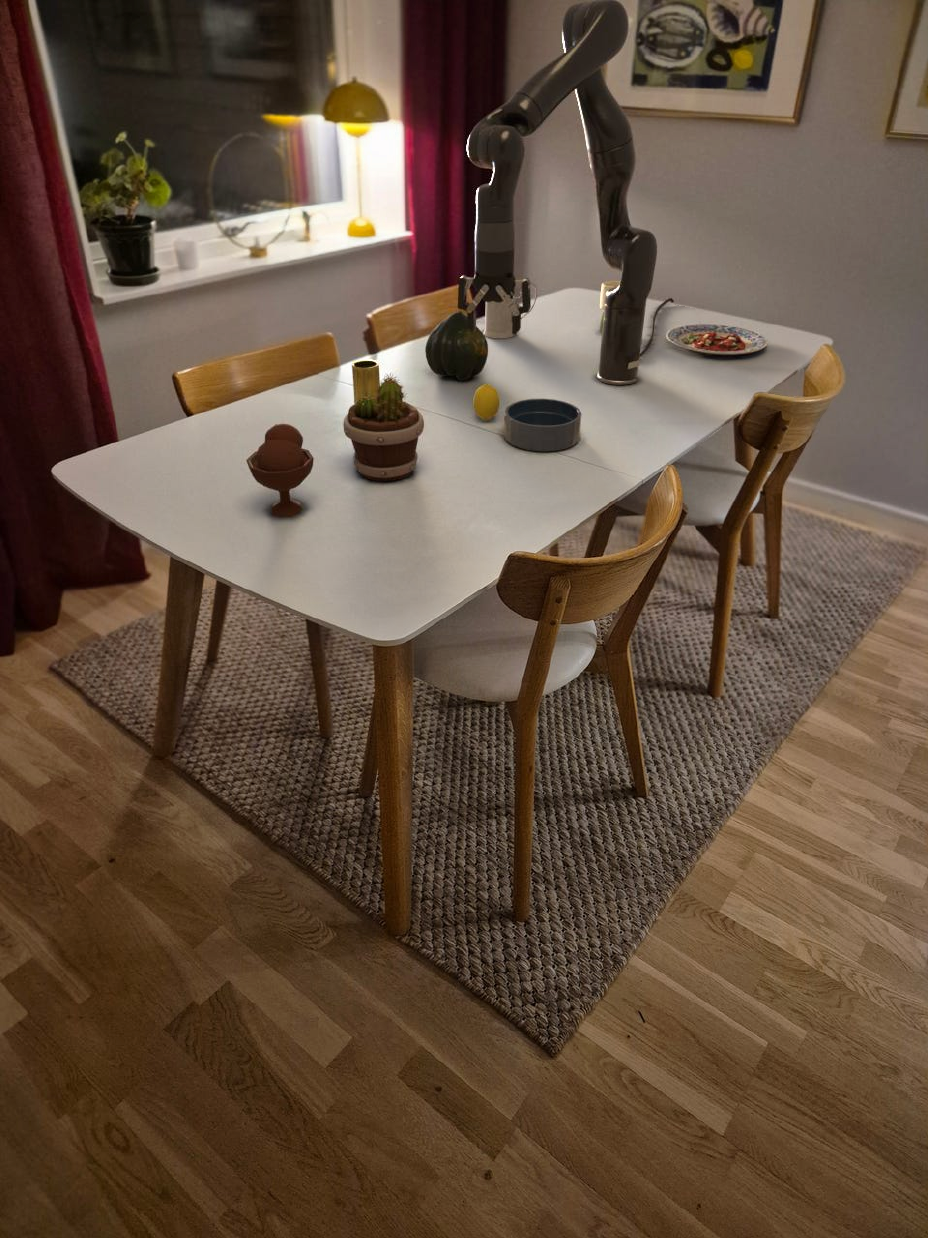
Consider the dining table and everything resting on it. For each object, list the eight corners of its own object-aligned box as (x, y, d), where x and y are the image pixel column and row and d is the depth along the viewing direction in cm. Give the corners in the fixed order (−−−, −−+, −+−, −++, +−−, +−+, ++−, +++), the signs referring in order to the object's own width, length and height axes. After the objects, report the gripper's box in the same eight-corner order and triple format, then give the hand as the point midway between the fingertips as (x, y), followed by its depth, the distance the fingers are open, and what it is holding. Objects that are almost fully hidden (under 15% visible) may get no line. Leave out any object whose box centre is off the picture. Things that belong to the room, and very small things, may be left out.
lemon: (496, 426, 176) (497, 389, 172) (470, 424, 177) (471, 387, 173) (500, 416, 181) (502, 380, 176) (475, 414, 182) (476, 378, 177)
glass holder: (485, 328, 235) (486, 271, 226) (536, 330, 233) (539, 273, 225) (481, 337, 228) (482, 279, 219) (533, 339, 226) (536, 281, 218)
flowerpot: (336, 462, 161) (326, 358, 150) (411, 450, 166) (407, 348, 155) (358, 494, 150) (350, 384, 139) (438, 479, 155) (436, 372, 144)
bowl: (511, 420, 179) (512, 395, 176) (583, 427, 176) (585, 401, 173) (497, 449, 167) (498, 422, 164) (573, 456, 164) (576, 429, 161)
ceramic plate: (777, 341, 225) (780, 330, 223) (748, 368, 207) (751, 355, 205) (685, 326, 236) (687, 315, 235) (650, 350, 219) (652, 339, 217)
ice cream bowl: (257, 496, 149) (245, 415, 141) (320, 494, 150) (312, 414, 142) (250, 525, 141) (236, 441, 132) (317, 522, 141) (308, 439, 133)
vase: (389, 428, 175) (385, 360, 167) (377, 439, 170) (372, 370, 162) (362, 425, 177) (357, 357, 169) (349, 435, 172) (344, 366, 164)
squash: (445, 368, 190) (477, 309, 189) (404, 355, 199) (435, 299, 199) (480, 398, 201) (511, 342, 200) (440, 384, 210) (469, 331, 210)
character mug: (613, 340, 226) (618, 290, 218) (589, 336, 229) (593, 286, 222) (630, 330, 233) (636, 281, 226) (607, 326, 236) (612, 278, 229)
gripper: (535, 242, 161) (531, 328, 170) (462, 240, 164) (463, 324, 173) (528, 251, 155) (525, 340, 164) (453, 248, 158) (454, 335, 167)
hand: (493, 332), depth 169 cm, fingers open, 8 cm apart
